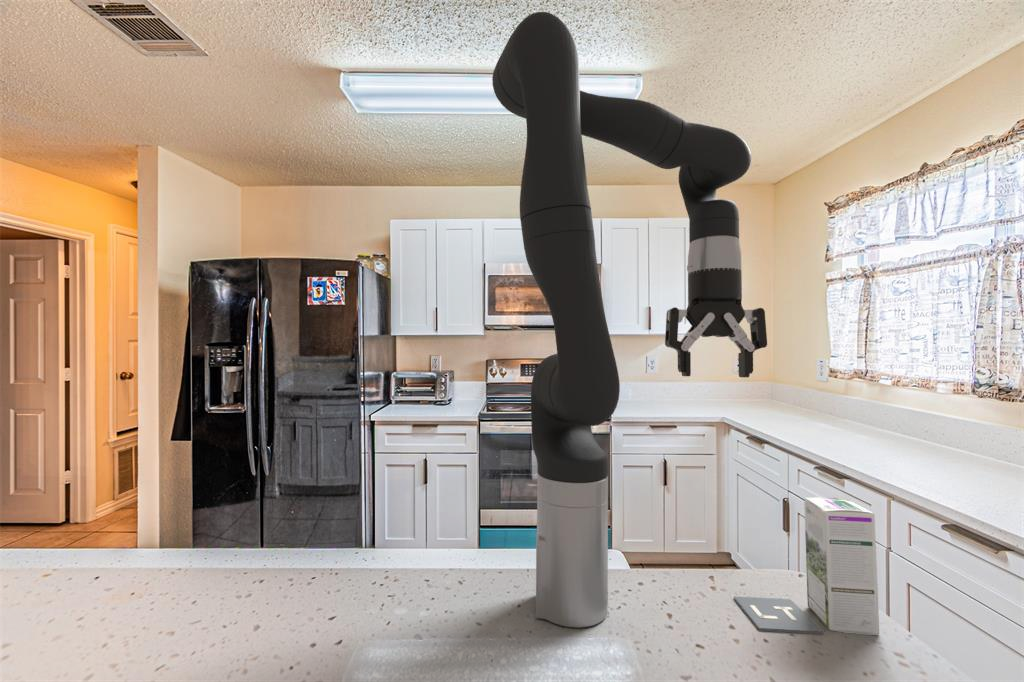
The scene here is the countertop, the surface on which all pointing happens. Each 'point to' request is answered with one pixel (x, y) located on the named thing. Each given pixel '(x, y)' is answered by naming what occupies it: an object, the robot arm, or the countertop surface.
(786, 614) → the tile
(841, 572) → the syrup box
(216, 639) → the countertop surface
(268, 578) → the countertop surface
